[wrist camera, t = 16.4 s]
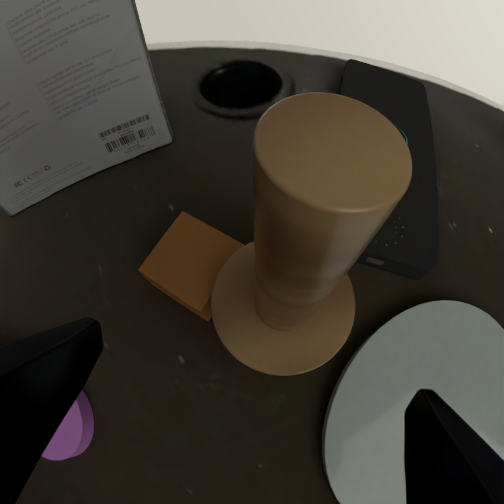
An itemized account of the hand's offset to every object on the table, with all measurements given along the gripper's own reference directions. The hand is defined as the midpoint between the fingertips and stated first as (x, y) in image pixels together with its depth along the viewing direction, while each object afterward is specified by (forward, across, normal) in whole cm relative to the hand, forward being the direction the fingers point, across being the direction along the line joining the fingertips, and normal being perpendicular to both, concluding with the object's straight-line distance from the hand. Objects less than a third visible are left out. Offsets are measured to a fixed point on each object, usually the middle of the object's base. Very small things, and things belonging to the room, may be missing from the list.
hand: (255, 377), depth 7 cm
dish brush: (+9, 0, +4) cm, 9 cm away
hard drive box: (+15, +18, -3) cm, 24 cm away
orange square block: (+10, +4, +2) cm, 11 cm away
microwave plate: (+5, -12, +7) cm, 14 cm away
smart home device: (+19, -6, -6) cm, 21 cm away
